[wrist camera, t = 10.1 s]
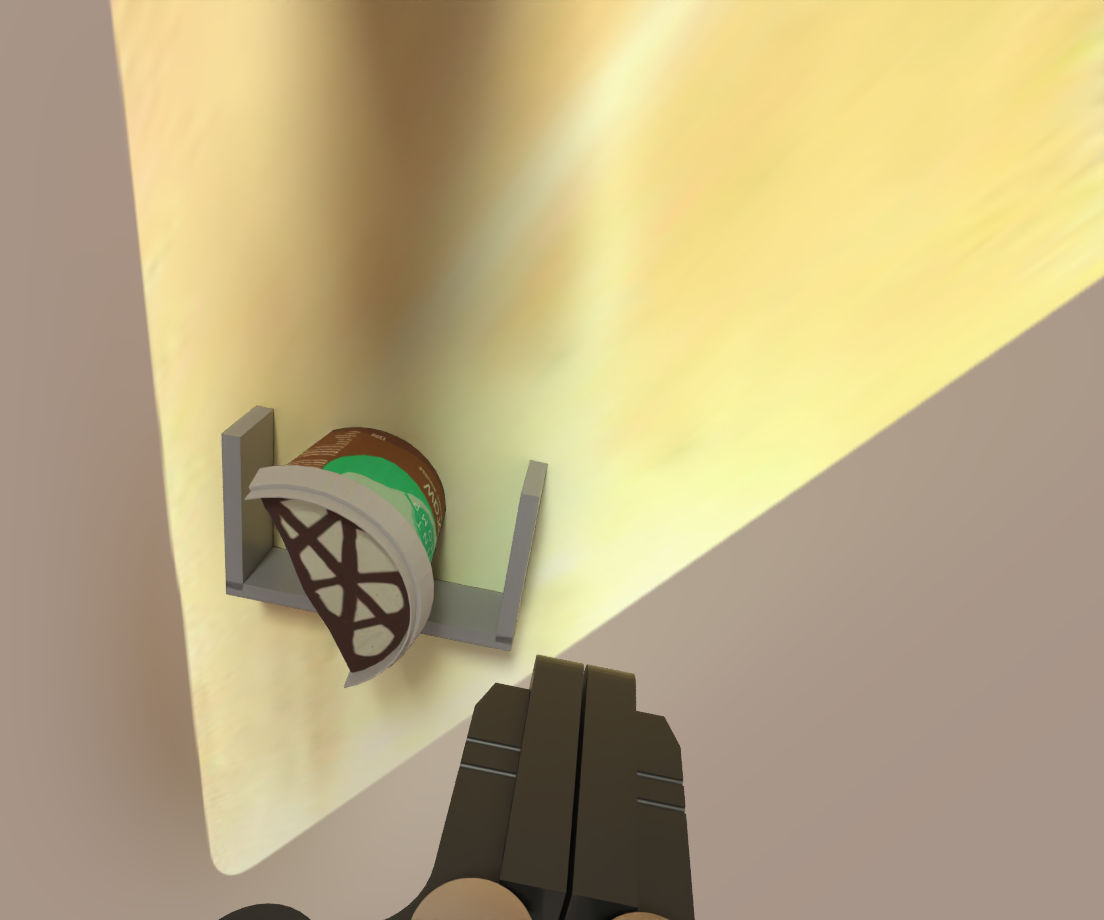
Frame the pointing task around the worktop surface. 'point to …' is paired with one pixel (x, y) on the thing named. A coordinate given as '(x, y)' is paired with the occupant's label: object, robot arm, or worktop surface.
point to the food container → (360, 539)
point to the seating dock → (275, 580)
